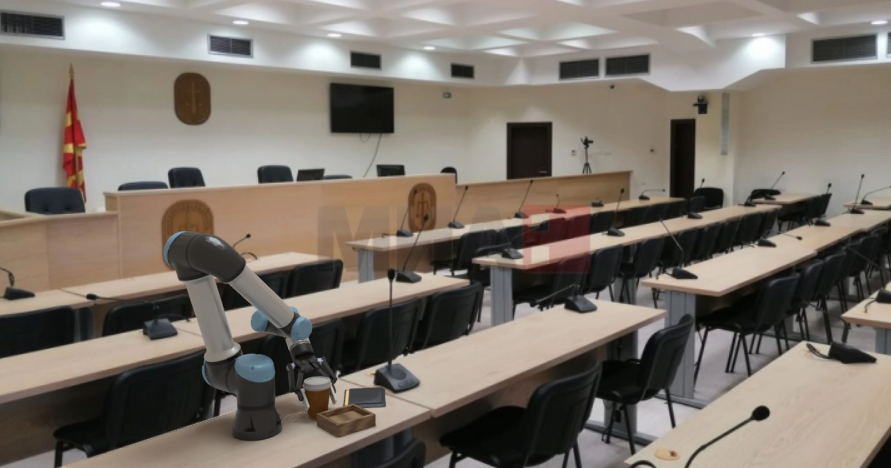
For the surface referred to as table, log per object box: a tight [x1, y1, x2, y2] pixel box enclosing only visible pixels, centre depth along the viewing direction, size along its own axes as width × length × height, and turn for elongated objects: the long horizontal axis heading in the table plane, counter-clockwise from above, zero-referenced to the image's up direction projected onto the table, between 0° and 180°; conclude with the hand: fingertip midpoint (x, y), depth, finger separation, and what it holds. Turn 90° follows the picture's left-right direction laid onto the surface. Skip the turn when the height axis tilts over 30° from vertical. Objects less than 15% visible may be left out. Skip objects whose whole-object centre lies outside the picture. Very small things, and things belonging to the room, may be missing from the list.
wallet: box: [342, 386, 387, 409], centre depth 255 cm, size 20×2×15 cm
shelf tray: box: [316, 404, 377, 438], centre depth 230 cm, size 14×13×4 cm
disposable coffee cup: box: [302, 376, 332, 420], centre depth 238 cm, size 10×10×12 cm
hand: (321, 405), depth 236 cm, fingers closed on disposable coffee cup, 9 cm apart
